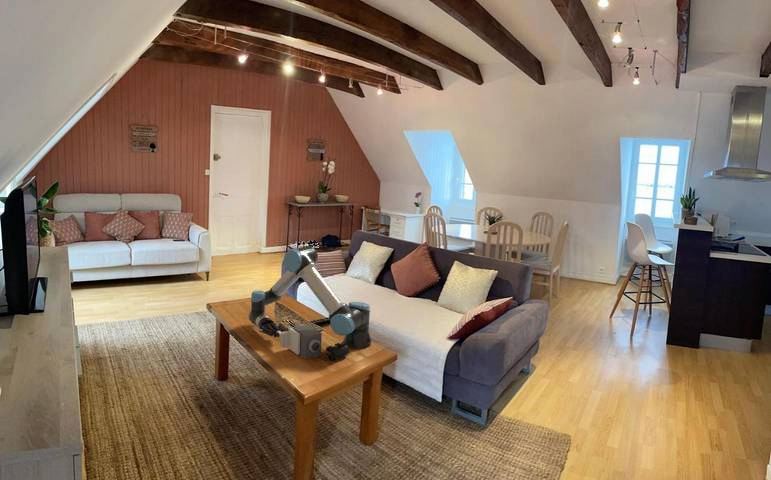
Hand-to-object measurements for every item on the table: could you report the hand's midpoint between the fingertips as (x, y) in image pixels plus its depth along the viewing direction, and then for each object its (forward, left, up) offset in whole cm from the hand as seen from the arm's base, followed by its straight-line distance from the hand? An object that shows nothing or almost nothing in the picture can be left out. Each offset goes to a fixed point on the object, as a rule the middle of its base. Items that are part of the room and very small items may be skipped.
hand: (283, 337), depth 253 cm
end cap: (-25, +15, -7) cm, 30 cm away
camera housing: (-12, +6, -7) cm, 15 cm away
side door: (-3, +5, -6) cm, 8 cm away
